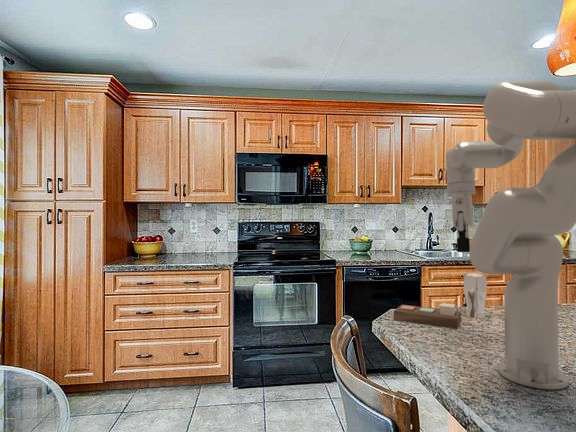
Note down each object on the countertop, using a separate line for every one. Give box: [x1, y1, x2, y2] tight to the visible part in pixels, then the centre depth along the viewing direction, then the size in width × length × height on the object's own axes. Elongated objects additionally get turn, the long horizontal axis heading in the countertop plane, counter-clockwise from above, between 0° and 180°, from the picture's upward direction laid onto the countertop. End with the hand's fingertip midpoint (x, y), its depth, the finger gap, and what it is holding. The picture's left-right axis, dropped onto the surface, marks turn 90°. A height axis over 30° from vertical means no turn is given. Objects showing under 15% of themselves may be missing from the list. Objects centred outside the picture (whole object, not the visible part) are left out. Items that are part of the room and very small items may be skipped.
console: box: [393, 304, 462, 330], centre depth 116 cm, size 10×19×4 cm, turn 58°
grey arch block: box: [463, 272, 488, 319], centre depth 121 cm, size 7×7×15 cm
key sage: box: [419, 307, 436, 314], centre depth 116 cm, size 4×4×3 cm
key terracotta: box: [400, 304, 415, 311], centre depth 119 cm, size 4×4×3 cm
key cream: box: [439, 302, 456, 316], centre depth 113 cm, size 4×4×3 cm
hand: (463, 251), depth 104 cm, fingers closed
